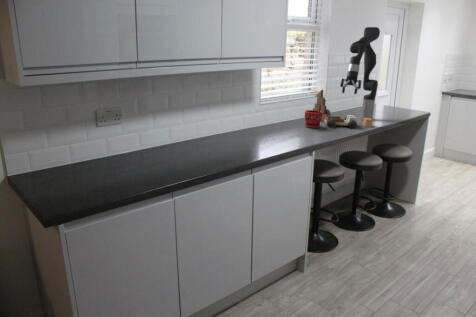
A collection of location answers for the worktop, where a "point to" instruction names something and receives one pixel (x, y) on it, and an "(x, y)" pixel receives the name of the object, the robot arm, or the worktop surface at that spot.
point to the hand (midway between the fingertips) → (349, 93)
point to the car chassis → (340, 121)
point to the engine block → (367, 122)
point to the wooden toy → (321, 105)
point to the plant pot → (313, 121)
